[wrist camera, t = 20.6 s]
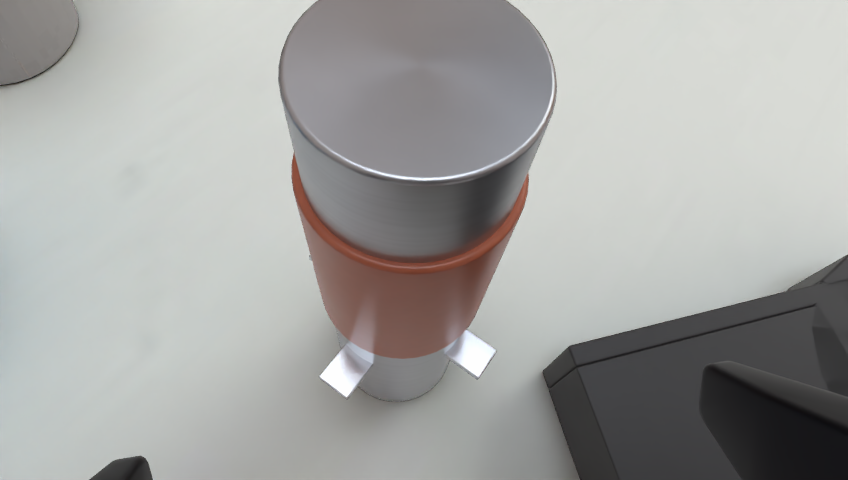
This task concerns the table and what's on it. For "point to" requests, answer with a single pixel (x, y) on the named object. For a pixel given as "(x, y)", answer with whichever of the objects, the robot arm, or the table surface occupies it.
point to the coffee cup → (34, 36)
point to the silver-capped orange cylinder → (411, 173)
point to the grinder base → (692, 379)
